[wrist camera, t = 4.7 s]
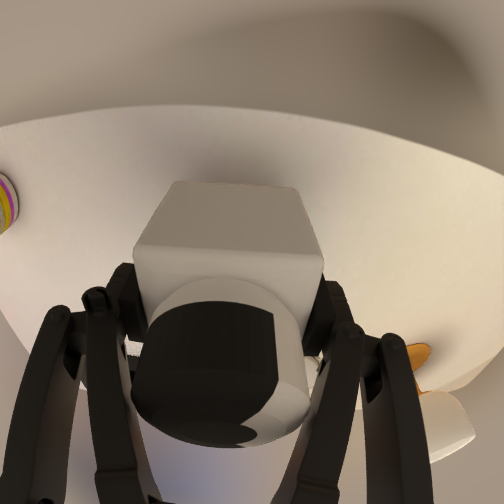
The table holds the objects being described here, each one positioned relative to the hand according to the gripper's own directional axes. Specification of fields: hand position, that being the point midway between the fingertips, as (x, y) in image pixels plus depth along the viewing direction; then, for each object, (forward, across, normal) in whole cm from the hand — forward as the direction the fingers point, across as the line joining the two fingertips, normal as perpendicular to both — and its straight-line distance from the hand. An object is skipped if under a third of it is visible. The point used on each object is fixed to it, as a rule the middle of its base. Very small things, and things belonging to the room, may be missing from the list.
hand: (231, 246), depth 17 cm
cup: (+7, +28, -23) cm, 37 cm away
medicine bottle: (+1, 0, 0) cm, 1 cm away
